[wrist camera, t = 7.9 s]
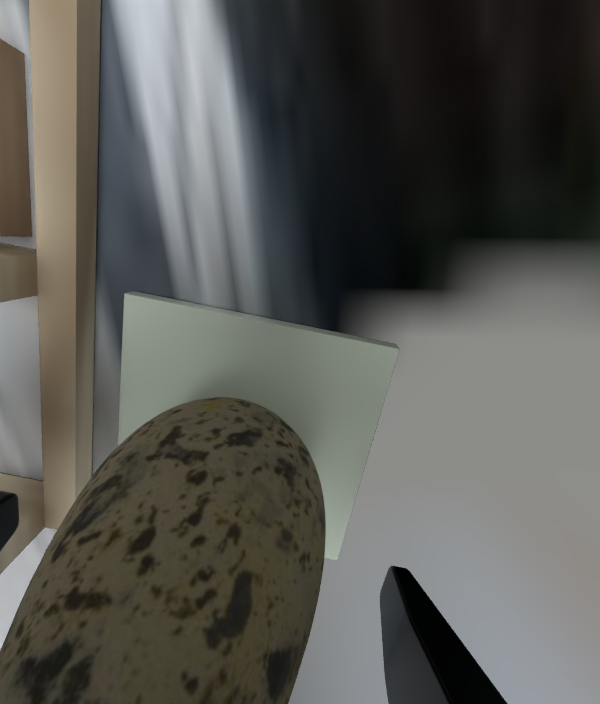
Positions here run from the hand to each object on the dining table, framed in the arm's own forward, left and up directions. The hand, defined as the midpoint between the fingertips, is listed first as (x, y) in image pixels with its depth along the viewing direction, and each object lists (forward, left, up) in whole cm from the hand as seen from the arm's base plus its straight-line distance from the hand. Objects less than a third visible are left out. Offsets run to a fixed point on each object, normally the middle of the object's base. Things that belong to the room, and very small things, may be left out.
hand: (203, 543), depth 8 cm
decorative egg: (0, 0, -5) cm, 5 cm away
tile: (0, 0, -5) cm, 5 cm away
